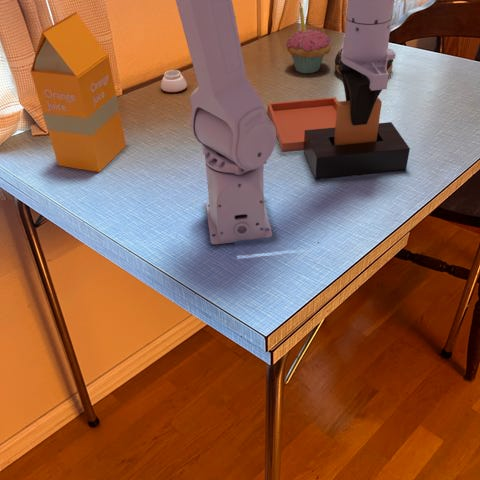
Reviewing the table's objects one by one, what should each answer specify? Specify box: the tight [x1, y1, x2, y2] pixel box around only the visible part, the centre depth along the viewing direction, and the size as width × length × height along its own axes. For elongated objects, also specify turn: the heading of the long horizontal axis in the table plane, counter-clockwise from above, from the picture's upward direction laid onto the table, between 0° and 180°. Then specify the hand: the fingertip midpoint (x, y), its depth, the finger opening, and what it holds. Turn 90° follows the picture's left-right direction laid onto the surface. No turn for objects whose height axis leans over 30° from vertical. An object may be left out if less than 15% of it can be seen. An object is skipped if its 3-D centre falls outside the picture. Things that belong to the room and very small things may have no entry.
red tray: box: [267, 96, 339, 152], centre depth 94 cm, size 15×12×2 cm
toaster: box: [303, 121, 411, 181], centre depth 84 cm, size 9×14×4 cm, turn 97°
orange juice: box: [30, 11, 127, 173], centre depth 84 cm, size 8×9×20 cm
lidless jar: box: [160, 69, 188, 93], centre depth 108 cm, size 5×3×5 cm
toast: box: [334, 97, 382, 146], centre depth 81 cm, size 1×6×7 cm, turn 96°
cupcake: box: [285, 1, 332, 74], centre depth 109 cm, size 9×8×12 cm
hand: (357, 120), depth 81 cm, fingers closed on toast, 1 cm apart
